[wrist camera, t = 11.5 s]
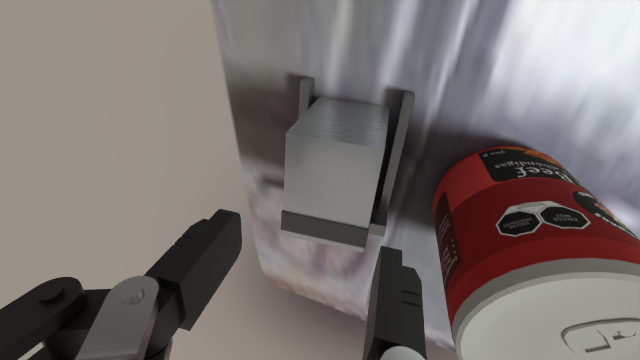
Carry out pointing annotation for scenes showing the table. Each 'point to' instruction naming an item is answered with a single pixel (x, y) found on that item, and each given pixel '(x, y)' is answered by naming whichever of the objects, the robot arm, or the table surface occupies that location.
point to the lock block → (333, 172)
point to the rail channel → (381, 207)
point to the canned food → (534, 262)
